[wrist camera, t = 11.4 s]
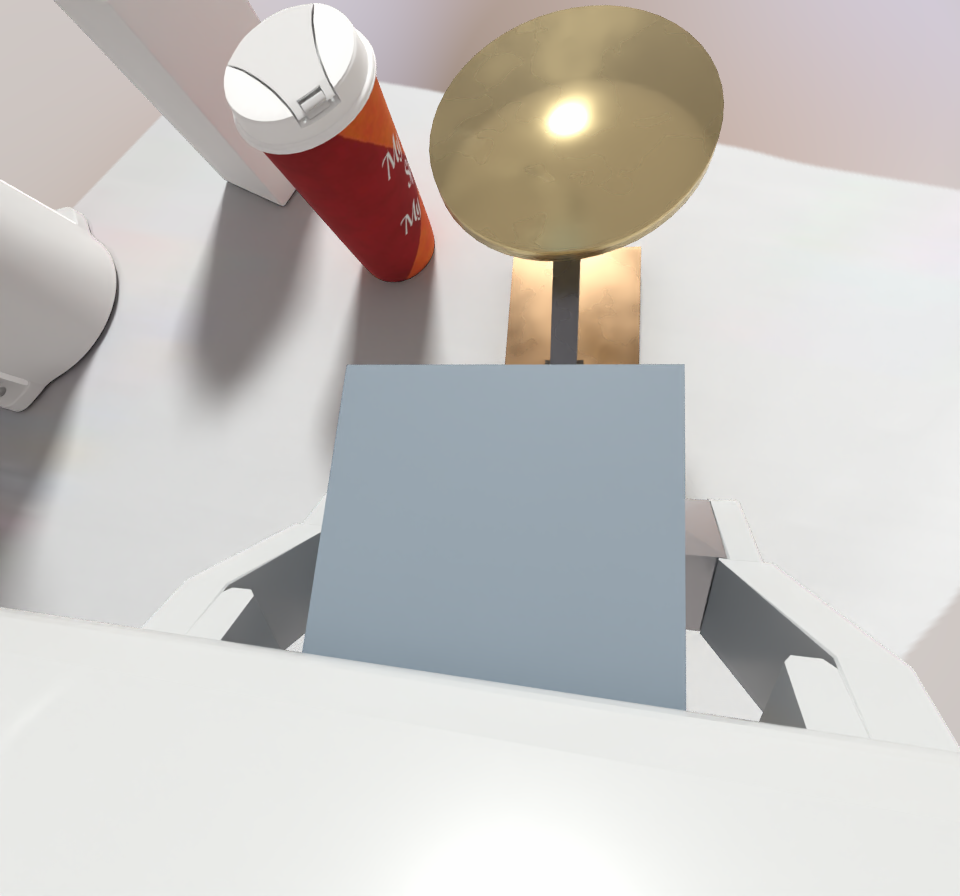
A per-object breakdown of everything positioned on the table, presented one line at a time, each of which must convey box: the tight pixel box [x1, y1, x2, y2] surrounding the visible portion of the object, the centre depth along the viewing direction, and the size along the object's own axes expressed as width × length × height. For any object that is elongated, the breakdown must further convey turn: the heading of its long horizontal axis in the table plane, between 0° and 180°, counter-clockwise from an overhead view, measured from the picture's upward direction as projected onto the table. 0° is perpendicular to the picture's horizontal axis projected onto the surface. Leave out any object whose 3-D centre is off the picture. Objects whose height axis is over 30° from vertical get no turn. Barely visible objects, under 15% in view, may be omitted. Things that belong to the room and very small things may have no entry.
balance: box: [429, 5, 724, 365], centre depth 23 cm, size 11×27×14 cm, turn 175°
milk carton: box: [54, 0, 296, 206], centre depth 31 cm, size 7×7×19 cm
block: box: [302, 364, 686, 711], centre depth 10 cm, size 5×5×8 cm
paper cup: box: [224, 3, 434, 282], centre depth 28 cm, size 8×8×14 cm
